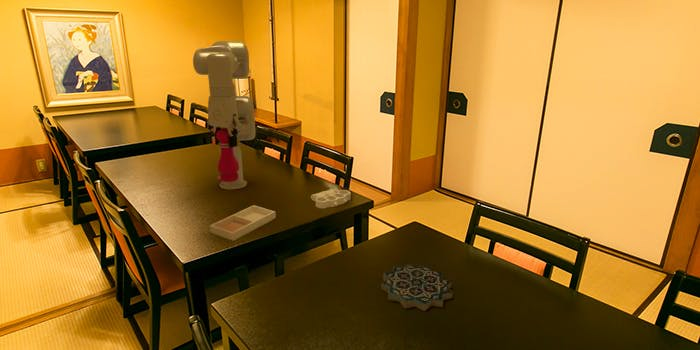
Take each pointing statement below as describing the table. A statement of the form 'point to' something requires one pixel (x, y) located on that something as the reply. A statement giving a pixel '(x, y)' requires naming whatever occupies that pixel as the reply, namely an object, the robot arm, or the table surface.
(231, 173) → the pepper mill
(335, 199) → the knuckle duster
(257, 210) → the cell tray
